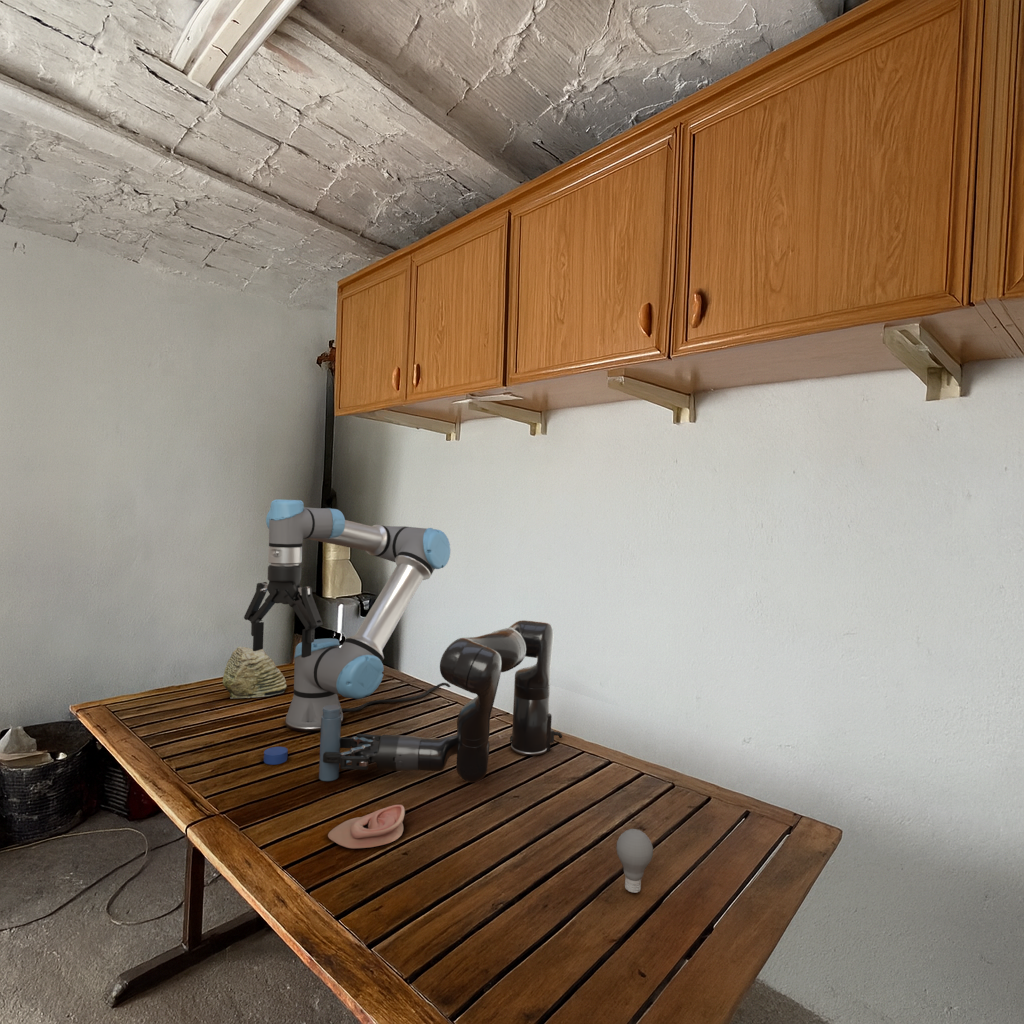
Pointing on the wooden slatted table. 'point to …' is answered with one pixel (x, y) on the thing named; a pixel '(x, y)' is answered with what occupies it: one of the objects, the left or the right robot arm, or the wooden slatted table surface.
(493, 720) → the wooden slatted table surface
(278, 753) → the lid
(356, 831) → the anatomical model
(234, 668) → the fossil
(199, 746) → the wooden slatted table surface
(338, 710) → the jar
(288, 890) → the wooden slatted table surface
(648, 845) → the light bulb
